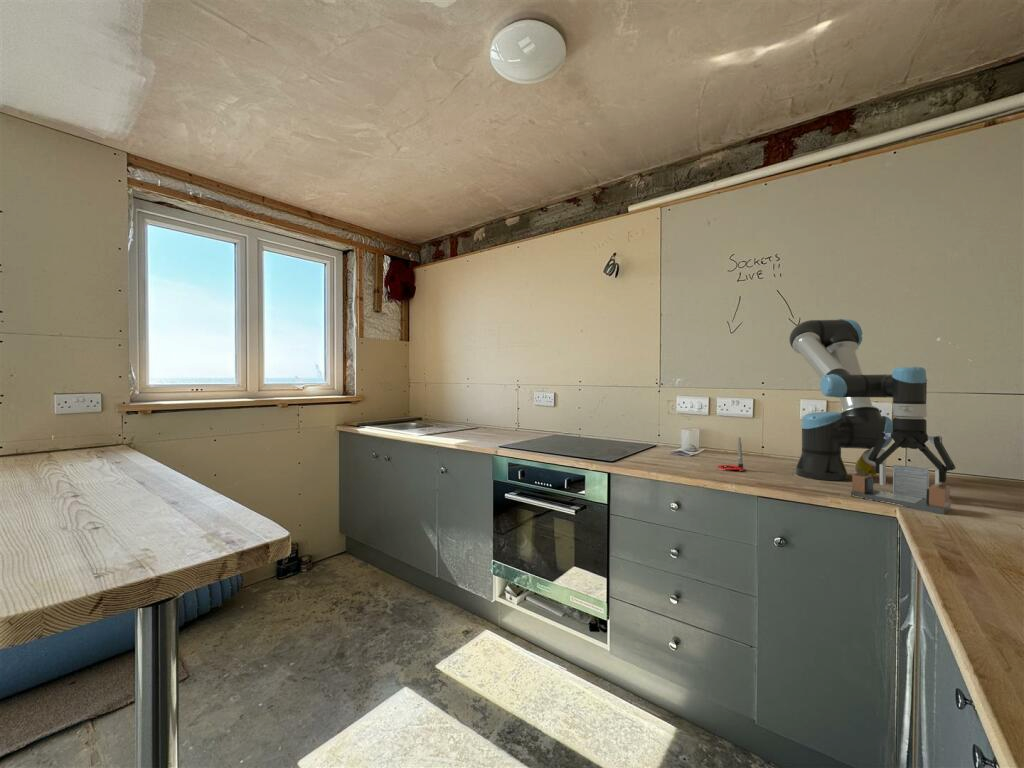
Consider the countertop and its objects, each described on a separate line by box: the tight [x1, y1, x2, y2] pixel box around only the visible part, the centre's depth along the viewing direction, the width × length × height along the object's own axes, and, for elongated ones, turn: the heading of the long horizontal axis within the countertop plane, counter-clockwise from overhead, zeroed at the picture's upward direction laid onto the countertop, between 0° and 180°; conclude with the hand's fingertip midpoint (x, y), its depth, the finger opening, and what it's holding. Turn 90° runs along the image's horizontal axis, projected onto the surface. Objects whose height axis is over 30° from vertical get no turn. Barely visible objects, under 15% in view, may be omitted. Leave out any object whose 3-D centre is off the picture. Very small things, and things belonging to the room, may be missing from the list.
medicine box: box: [892, 464, 930, 499], centre depth 129 cm, size 8×4×9 cm, turn 47°
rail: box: [850, 472, 952, 515], centre depth 122 cm, size 20×8×6 cm, turn 34°
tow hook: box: [716, 436, 744, 472], centre depth 166 cm, size 8×13×9 cm
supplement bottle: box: [853, 447, 887, 477], centre depth 151 cm, size 7×7×13 cm
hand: (909, 488), depth 128 cm, fingers open, 12 cm apart
